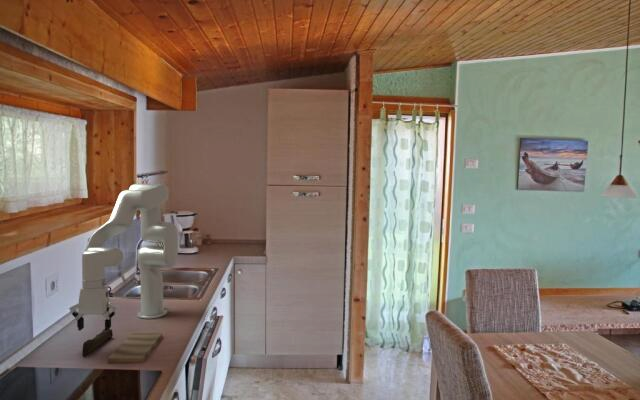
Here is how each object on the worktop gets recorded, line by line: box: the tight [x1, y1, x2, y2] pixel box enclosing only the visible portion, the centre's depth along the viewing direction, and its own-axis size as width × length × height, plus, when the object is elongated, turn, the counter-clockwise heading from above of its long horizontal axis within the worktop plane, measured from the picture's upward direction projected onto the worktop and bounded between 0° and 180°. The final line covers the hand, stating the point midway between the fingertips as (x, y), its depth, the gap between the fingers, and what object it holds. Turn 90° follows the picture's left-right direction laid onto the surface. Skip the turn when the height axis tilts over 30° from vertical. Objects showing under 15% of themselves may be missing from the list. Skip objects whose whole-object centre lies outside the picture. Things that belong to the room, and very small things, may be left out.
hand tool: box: [81, 328, 114, 357], centre depth 178 cm, size 19×4×5 cm, turn 176°
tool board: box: [107, 332, 163, 364], centre depth 176 cm, size 24×12×2 cm, turn 3°
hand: (94, 329), depth 177 cm, fingers open, 9 cm apart
